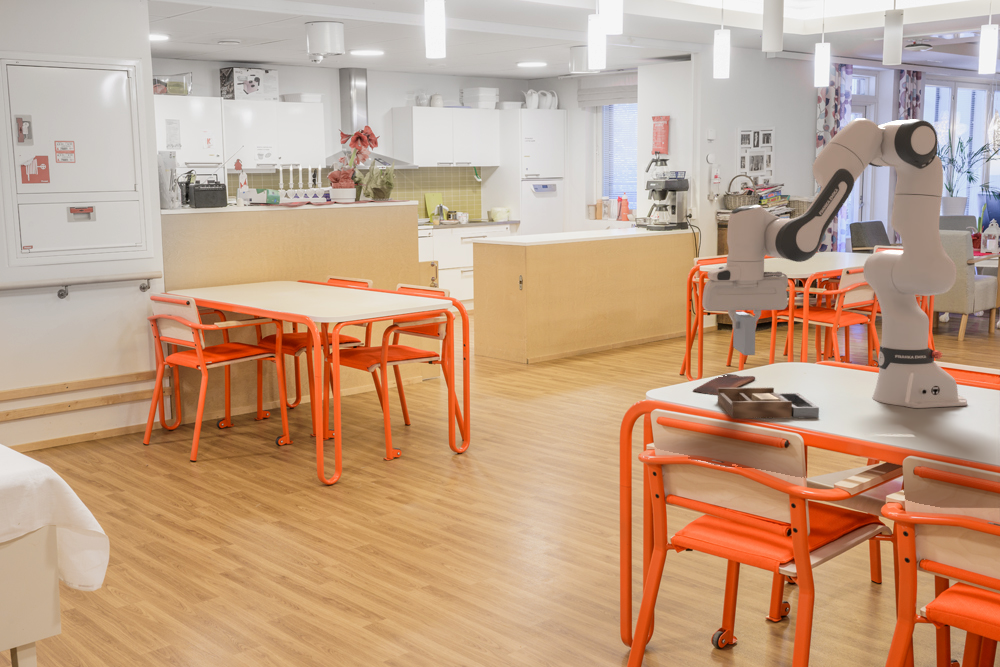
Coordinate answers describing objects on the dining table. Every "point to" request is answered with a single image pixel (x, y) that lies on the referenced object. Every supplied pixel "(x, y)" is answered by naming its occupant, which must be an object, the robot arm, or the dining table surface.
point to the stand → (800, 406)
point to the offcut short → (764, 397)
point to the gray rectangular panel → (745, 334)
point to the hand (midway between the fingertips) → (744, 328)
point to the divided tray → (752, 403)
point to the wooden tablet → (724, 383)
